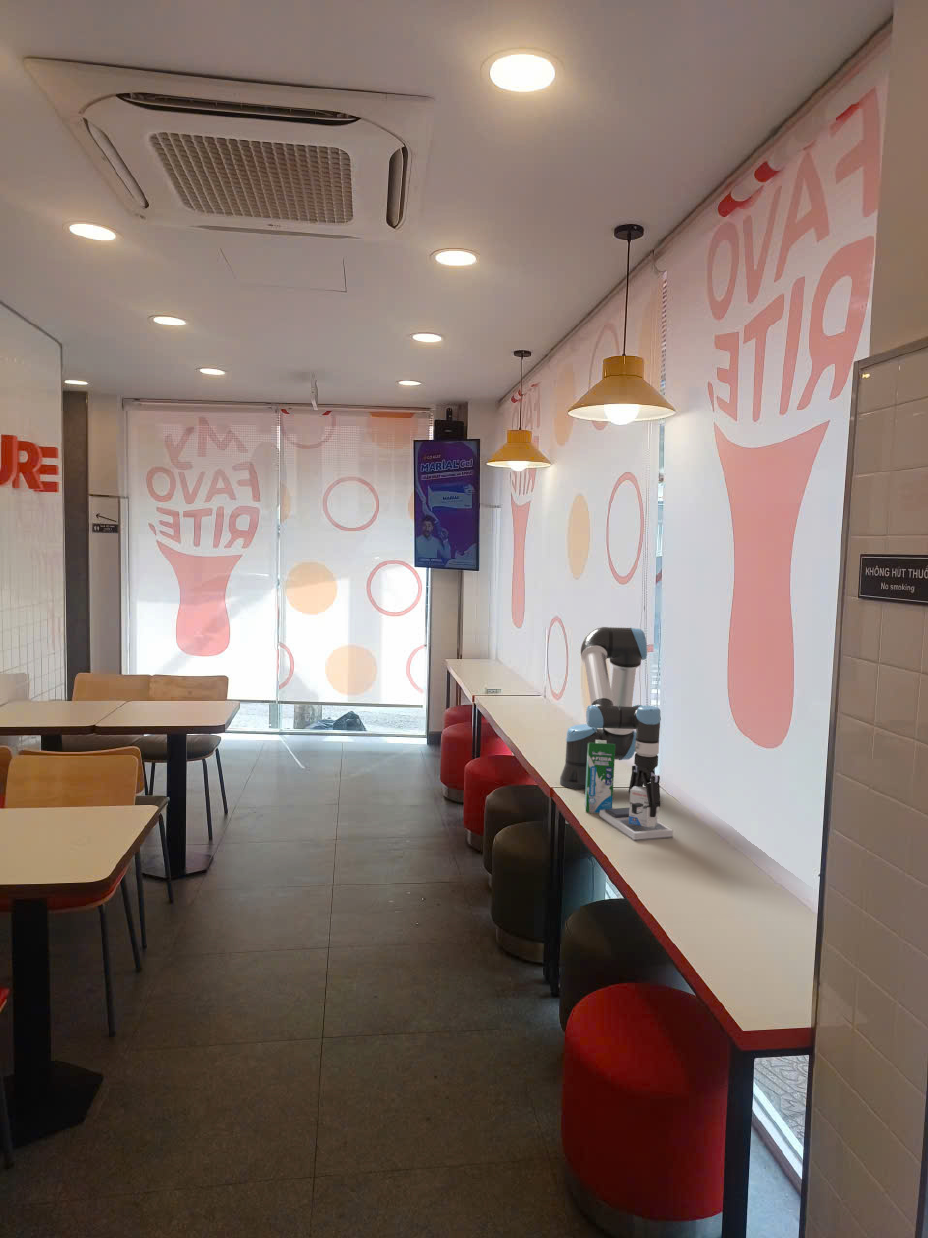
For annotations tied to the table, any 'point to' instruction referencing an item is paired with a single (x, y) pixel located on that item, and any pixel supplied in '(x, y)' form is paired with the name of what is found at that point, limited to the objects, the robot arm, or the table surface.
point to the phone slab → (618, 812)
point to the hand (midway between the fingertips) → (642, 821)
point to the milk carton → (599, 776)
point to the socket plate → (637, 828)
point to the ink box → (639, 807)
